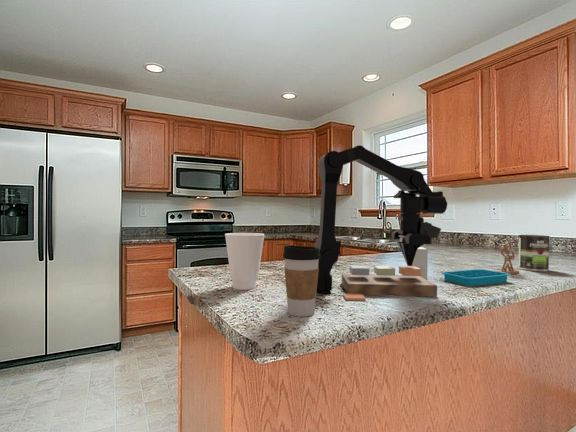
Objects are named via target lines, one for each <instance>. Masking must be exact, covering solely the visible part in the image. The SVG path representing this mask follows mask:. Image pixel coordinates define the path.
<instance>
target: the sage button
mask: <svg viewBox="0 0 576 432" xmlns="http://www.w3.org/2000/svg"><path fill="white" fill-rule="evenodd" d="M373 266H374V268H373V269H374V270H373V272H374V274H375V275H386V276H395V275H396V268H395V267H393V266H391V265H373Z"/></svg>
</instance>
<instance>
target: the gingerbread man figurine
mask: <svg viewBox="0 0 576 432" xmlns="http://www.w3.org/2000/svg"><path fill="white" fill-rule="evenodd" d="M504 252H505V254H506V255H505V254H504ZM500 253H501V255H502V256H503V257H504V262H503V265H502V267H501V270H496V272H502V273H508V274H511V275H519V274H520V271H519V270H514V267H513V266H514V265H513V263H512V260H513V261H514V260H515V258H516V257H515V256H516V255H515V253H514V251H512V243H511V242H509V241H506V242H505V243H504V245H503V247H501V248H500ZM510 254H511V255H510ZM511 275H510V276H511Z"/></svg>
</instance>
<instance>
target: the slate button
mask: <svg viewBox="0 0 576 432" xmlns="http://www.w3.org/2000/svg"><path fill="white" fill-rule="evenodd" d="M349 274H352V275H369V274H370V267H368V266H367V265H349Z"/></svg>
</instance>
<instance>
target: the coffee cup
mask: <svg viewBox="0 0 576 432" xmlns="http://www.w3.org/2000/svg"><path fill="white" fill-rule="evenodd" d="M283 247H284V248H283V254H282V258H283V259H284V269H283V270H284V278H285V291H286V292H285V293H286V300H287V301H286V302H287V313H288V315H290V316H293V317H300V318H302V317H310V316H311V317H312V316H313V315H314V314H315V309H316V299H317V293H316V291H317V281H318V272H319V268H318V262H319V259H320V256H321V255H320V251H319V248H317V247H315V246H302V245H291V244H290V245H289V244H288V245H287V244H286V245H283Z"/></svg>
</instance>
